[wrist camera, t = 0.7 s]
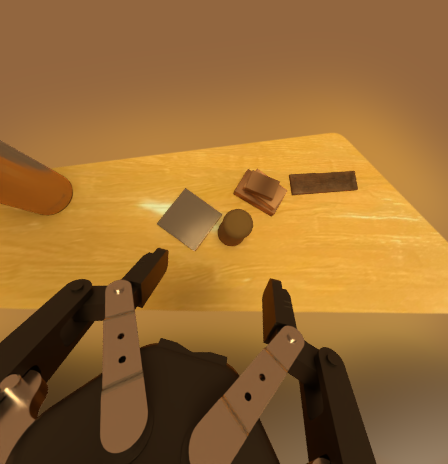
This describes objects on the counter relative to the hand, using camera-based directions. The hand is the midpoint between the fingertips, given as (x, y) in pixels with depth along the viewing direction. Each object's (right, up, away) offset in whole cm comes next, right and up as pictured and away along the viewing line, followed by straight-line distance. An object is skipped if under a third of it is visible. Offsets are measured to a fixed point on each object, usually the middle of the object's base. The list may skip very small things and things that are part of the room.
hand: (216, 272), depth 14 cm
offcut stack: (+9, +12, +28) cm, 31 cm away
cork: (+2, +3, +26) cm, 26 cm away
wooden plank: (+24, +15, +30) cm, 42 cm away
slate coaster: (-7, +6, +26) cm, 27 cm away
